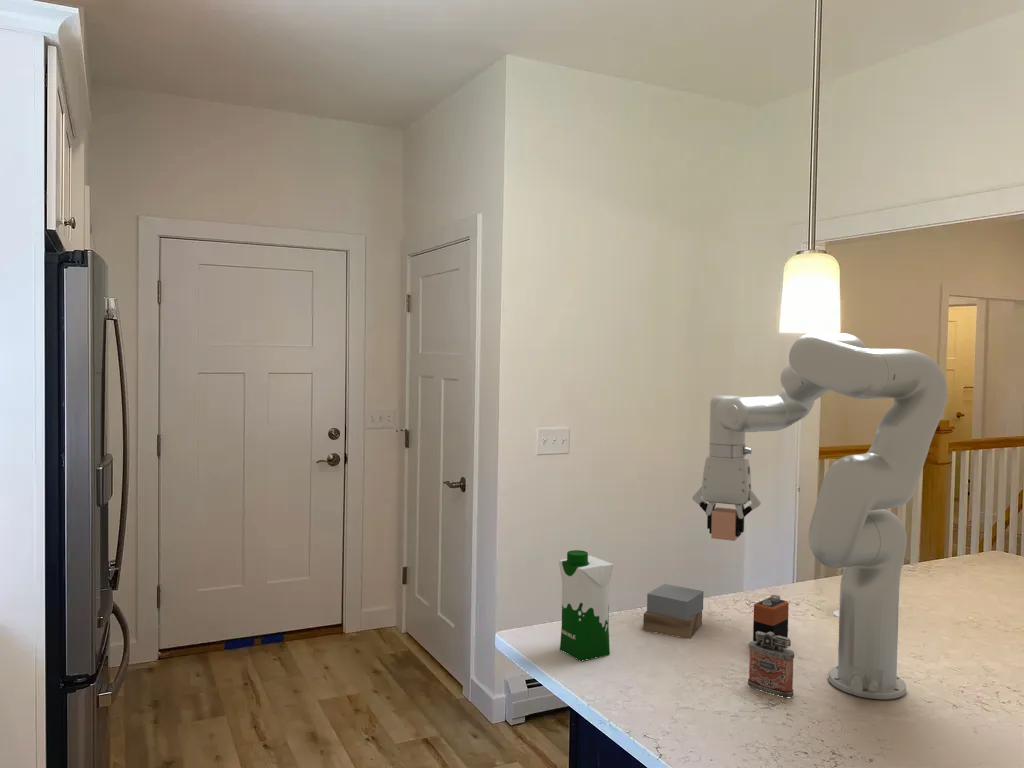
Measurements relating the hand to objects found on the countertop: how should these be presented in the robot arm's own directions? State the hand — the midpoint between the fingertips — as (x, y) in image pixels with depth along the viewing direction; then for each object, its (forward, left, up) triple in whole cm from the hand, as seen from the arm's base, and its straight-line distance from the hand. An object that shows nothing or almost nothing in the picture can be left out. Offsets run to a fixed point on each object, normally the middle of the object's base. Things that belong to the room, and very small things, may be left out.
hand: (725, 533), depth 172 cm
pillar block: (0, 0, -1) cm, 1 cm away
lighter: (-33, -15, -20) cm, 41 cm away
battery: (-12, -12, -20) cm, 26 cm away
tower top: (-10, +8, -16) cm, 20 cm away
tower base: (-10, +9, -20) cm, 24 cm away
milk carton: (-32, +20, -20) cm, 43 cm away
